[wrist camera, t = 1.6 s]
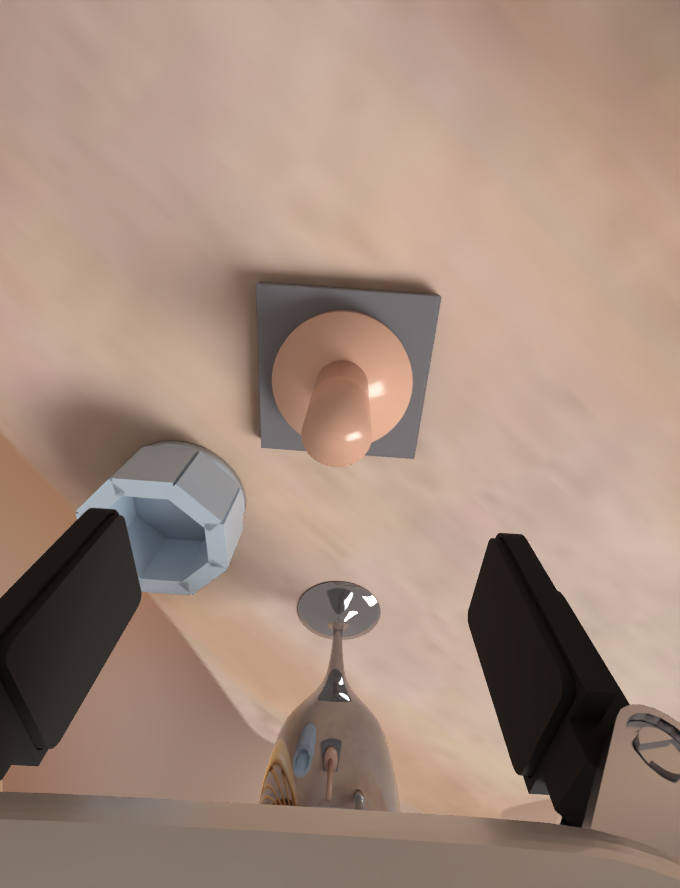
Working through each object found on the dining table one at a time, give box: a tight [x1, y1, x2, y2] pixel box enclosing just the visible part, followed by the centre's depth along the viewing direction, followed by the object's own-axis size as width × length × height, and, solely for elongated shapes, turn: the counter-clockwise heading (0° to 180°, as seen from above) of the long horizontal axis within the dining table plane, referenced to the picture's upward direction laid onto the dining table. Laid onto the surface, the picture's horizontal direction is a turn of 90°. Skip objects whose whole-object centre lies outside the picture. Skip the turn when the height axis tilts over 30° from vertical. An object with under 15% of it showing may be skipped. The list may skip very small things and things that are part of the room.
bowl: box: [75, 441, 246, 595], centre depth 27 cm, size 9×9×5 cm
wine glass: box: [258, 581, 400, 812], centre depth 28 cm, size 8×8×15 cm
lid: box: [272, 310, 413, 467], centre depth 20 cm, size 8×8×8 cm
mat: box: [256, 282, 441, 459], centre depth 24 cm, size 10×10×1 cm
